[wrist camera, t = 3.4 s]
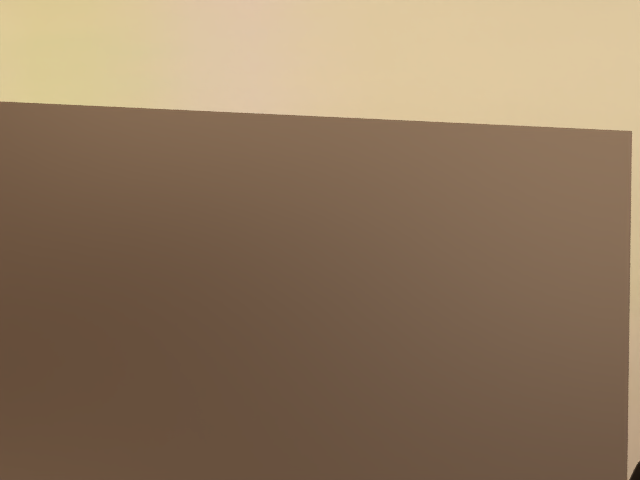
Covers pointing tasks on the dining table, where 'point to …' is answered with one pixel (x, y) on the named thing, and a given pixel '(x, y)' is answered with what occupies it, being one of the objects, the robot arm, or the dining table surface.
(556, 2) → the dining table surface
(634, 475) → the robot arm
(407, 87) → the dining table surface
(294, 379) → the brown rectangular pillar
